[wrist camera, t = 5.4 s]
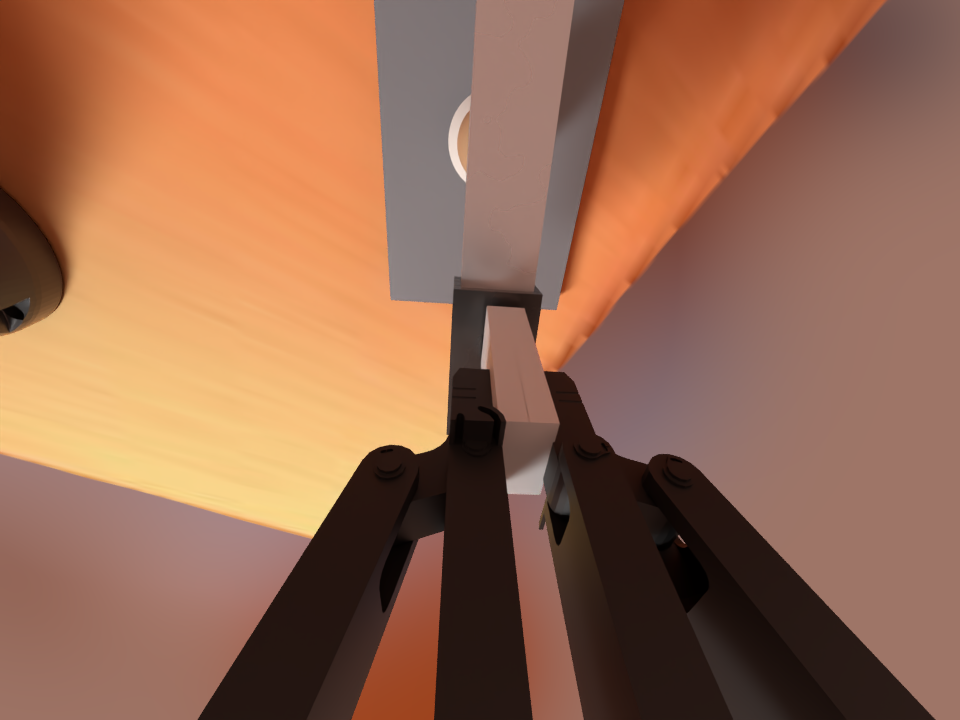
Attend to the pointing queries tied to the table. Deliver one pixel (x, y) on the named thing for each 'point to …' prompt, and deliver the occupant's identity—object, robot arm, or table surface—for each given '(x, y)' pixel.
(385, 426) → the table surface
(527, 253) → the press lever
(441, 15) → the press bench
